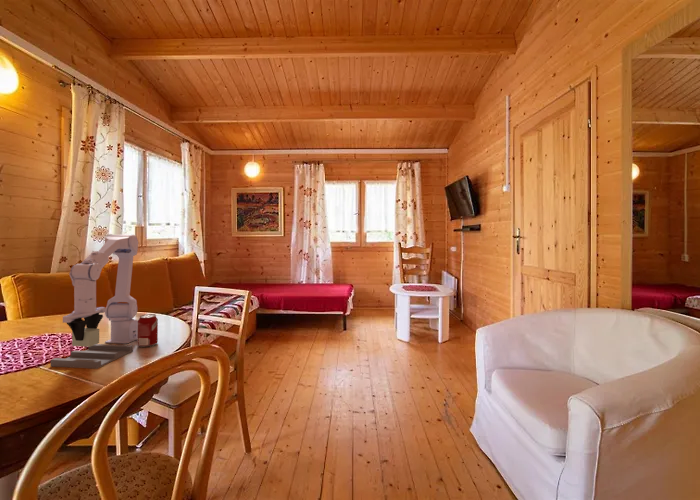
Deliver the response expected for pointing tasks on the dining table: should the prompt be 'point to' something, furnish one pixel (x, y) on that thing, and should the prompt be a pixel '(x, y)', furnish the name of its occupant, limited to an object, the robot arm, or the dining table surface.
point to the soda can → (147, 330)
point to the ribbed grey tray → (93, 356)
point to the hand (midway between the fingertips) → (85, 338)
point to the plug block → (87, 338)
